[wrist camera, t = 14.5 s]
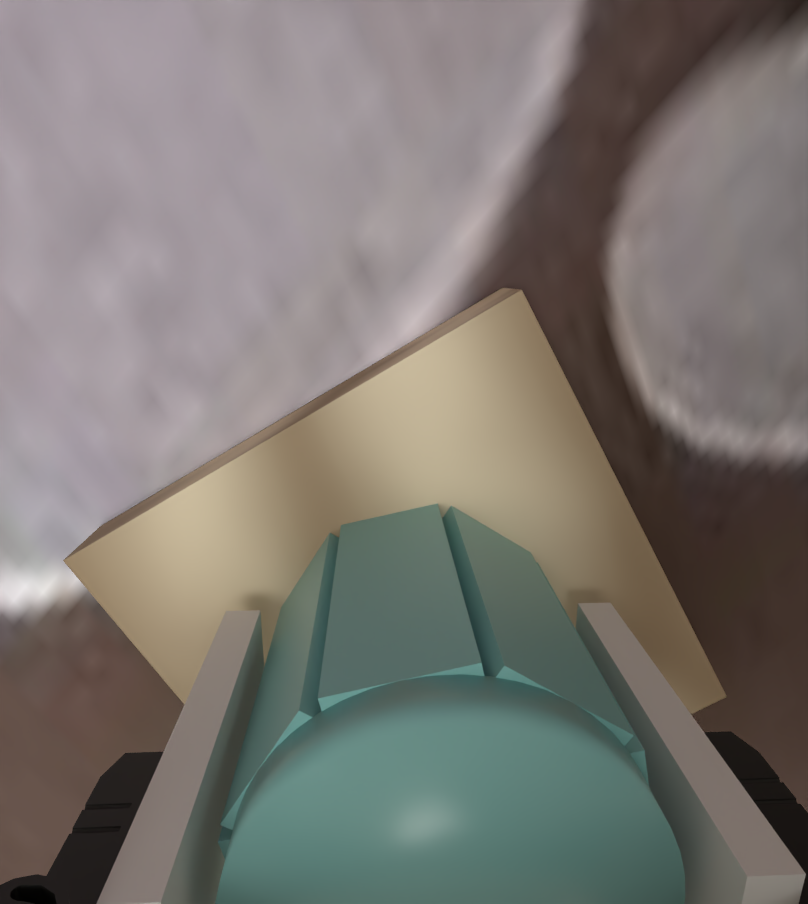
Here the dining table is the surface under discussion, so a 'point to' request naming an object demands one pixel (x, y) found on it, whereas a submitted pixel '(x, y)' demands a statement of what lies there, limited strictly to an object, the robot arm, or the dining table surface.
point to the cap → (438, 738)
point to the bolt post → (395, 499)
